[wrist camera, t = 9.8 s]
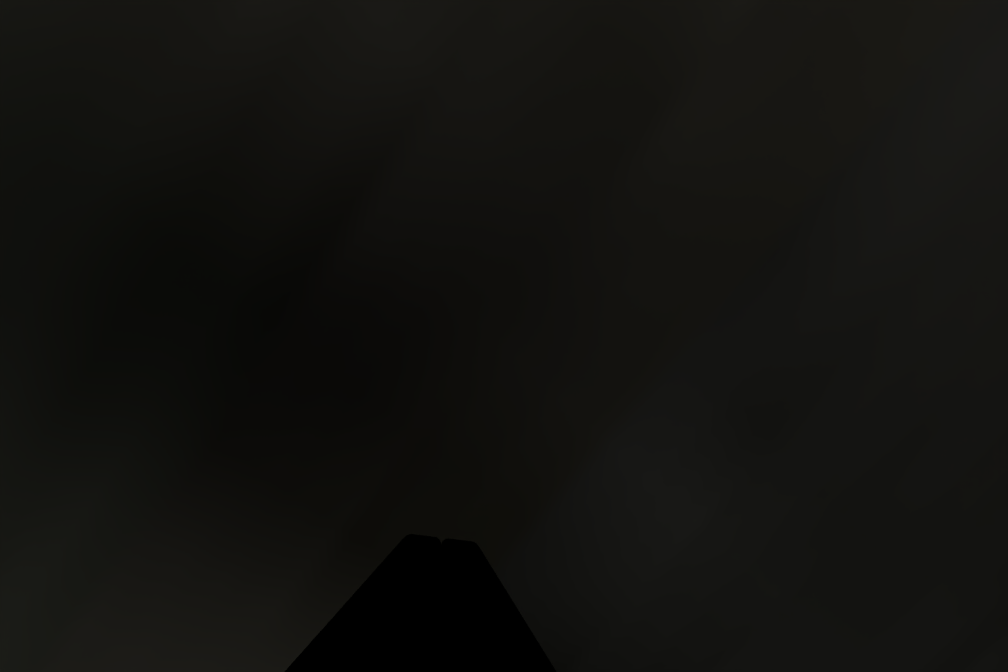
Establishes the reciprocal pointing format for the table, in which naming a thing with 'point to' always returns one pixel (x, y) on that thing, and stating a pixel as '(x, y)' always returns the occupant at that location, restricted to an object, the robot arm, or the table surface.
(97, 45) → the table surface
